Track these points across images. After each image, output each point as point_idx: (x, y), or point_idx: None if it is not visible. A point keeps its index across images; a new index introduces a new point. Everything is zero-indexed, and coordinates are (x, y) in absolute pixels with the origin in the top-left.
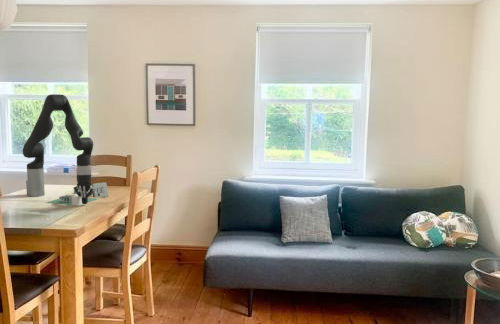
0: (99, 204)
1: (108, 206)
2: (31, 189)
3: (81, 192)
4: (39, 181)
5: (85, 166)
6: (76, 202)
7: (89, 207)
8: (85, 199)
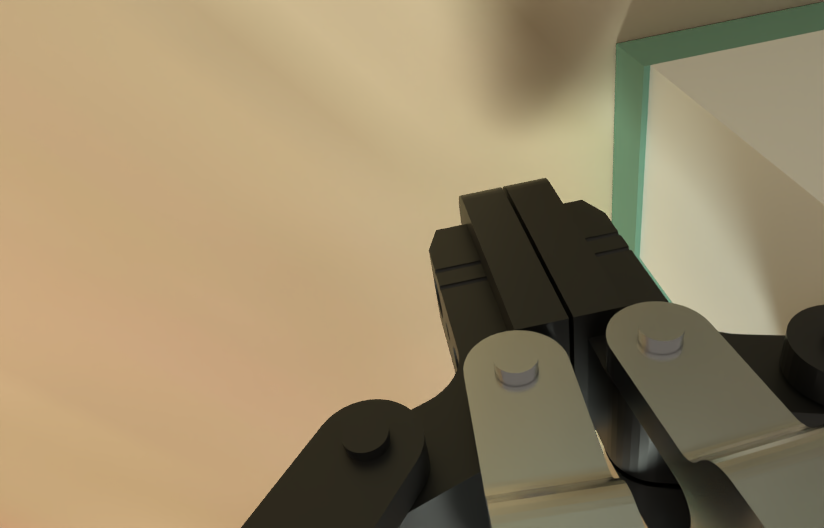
0: None
1: (65, 481)
2: None
3: (774, 488)
4: None
5: None
6: (757, 93)
7: (360, 227)
8: (474, 310)
